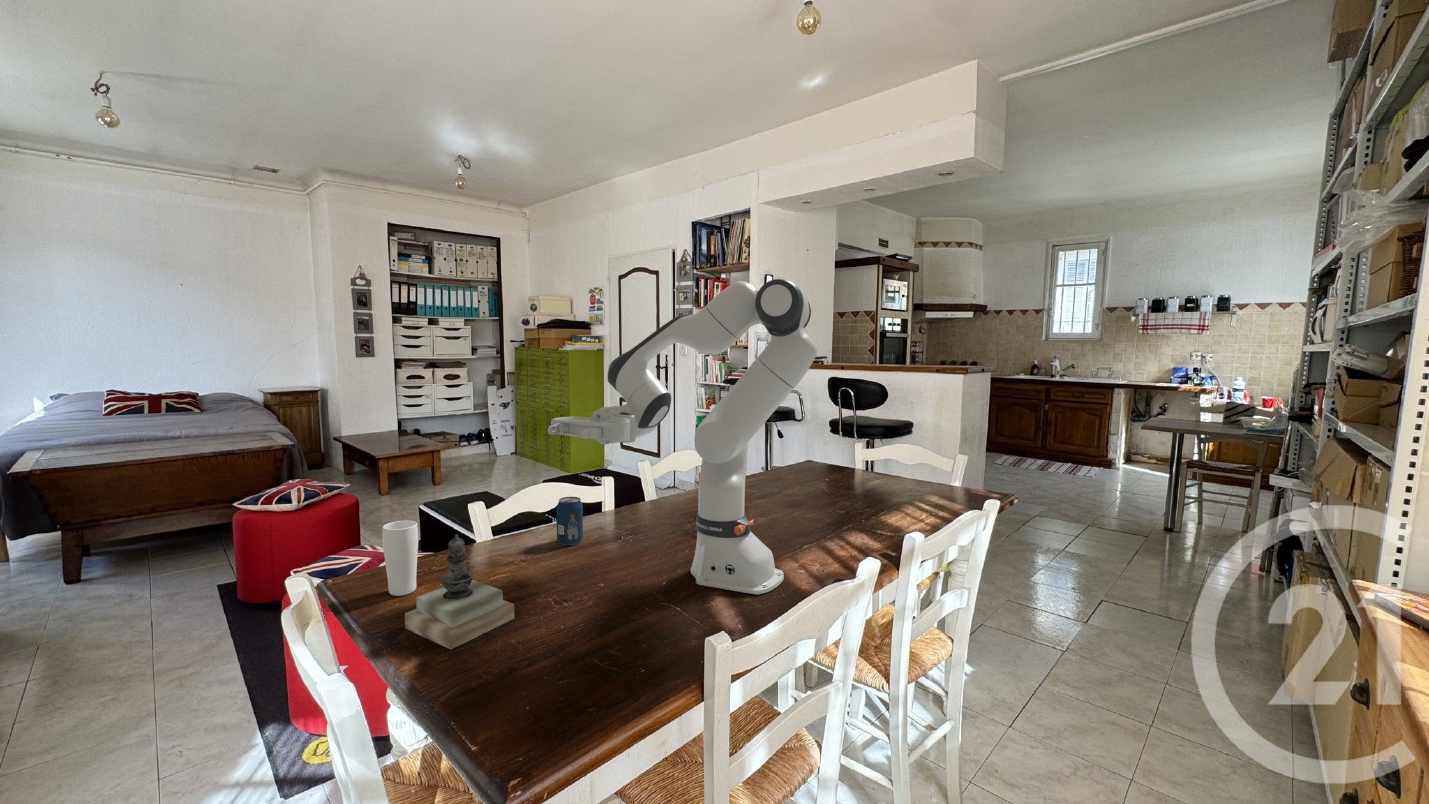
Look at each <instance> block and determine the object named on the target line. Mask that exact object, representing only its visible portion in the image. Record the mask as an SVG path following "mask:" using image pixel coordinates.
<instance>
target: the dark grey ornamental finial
mask: <svg viewBox="0 0 1429 804" xmlns="http://www.w3.org/2000/svg"><path fill="white" fill-rule="evenodd" d="M453 537H454V538H452V539H450V540H449V542H448V543H447V545H448V546H447V547H448V550H447V551H448V556H446V561H447V562H448V563H447V564H448V568H447V573H445V574H443V575H442V576H441V577H440V582H442V587H444V588H445V589H447V590H448V591H447V592H445V593H444V594H443V598H444V599H446V600H461V599H464V598H467V597H469V596H471V595H472V593H473V591H472V590H471V589H469V588H468V587H469V586H470V584H471V582H472V580H473V578H474V577H475V576H474V575H475V573H474V572H473V571H470V570H467V567H466V565H467V564H466V560H467V558H468V555H467V554H466V549H465V548H466V547H465V544H466V543H465V540H464V539H463V538H460V537H459V535H458V534H455V535H454V536H453Z"/></svg>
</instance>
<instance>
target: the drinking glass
mask: <svg viewBox="0 0 1429 804" xmlns="http://www.w3.org/2000/svg"><path fill="white" fill-rule="evenodd" d="M382 550H383V556H384V557H383V558H384V564H385V570H386V576H387V577H386V578H387V585H388V593H389V595H391V596H393V597H401V596H406V595H409V594H412V593H413V592H415V591H416V589H417V570H418V568H417V567H418V552H419V528H418V522H416V521H415V520H405V519H403V520H397V521H392V522H389V523H386V524H384V525H383V526H382Z"/></svg>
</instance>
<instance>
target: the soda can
mask: <svg viewBox="0 0 1429 804" xmlns="http://www.w3.org/2000/svg"><path fill="white" fill-rule="evenodd" d="M583 514H584V505H583V503H582V501H581V497H577V496H565V497H561V498H559V499H558V503H557V504H556V540H557V541H558V543H559V544H560V545H561V544H562V545H563V546H566V545H570V546H575V545H579V544H580V543H581V542H582V540H583V538H584V525H583V524H584V515H583ZM578 543H579V544H578Z"/></svg>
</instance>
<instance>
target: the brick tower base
mask: <svg viewBox="0 0 1429 804" xmlns="http://www.w3.org/2000/svg"><path fill="white" fill-rule="evenodd" d="M468 588H469V589H471V590H472V591H473V593H472V595H471V596H469V597H467V598H464V599H461V600H446V599H444V598H443V594H444V593H445V592H447V591H448V590H447V589H445V588H444V586H441V587H439V588H438V589H437V588H436V589H434V590H432V591H428V592H426V593H424V594H421V595H418V596H416V598H415V599H416V602H415V603H416V608H415V609H412V610H410V611H408V612H404V625H405V626H404V629H405V630H408V631H410V632H412V633H414V634H417V635H418V636H421V637H423V638H425V639H427V640H429V641H430V642H434V643H436V644H438V645H440V646H442V647H445V648H447V649H448V650H453V649H455V648H456V647H458V646H461V645H464V644H465V643H467V642H469V641H471V640H473V639H475V638H478V637H479V636H481V635H484V634H485V633H488V632H490V631H491V630H494V629H496V628H498V627H500V626H502V625H504V624H506V623H508V622H510V621H513V620H514V619H515V604H514V603H512V602H511V601H510V602H509V601H507V600H504V595H503V593H504V591H503V589H500V588H498V587H494V586H491V585H489V584H486V583H483V582H481V581H477V580H474V579H472V582H471V584H470V586H469V587H468ZM483 633H484V634H483Z"/></svg>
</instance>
